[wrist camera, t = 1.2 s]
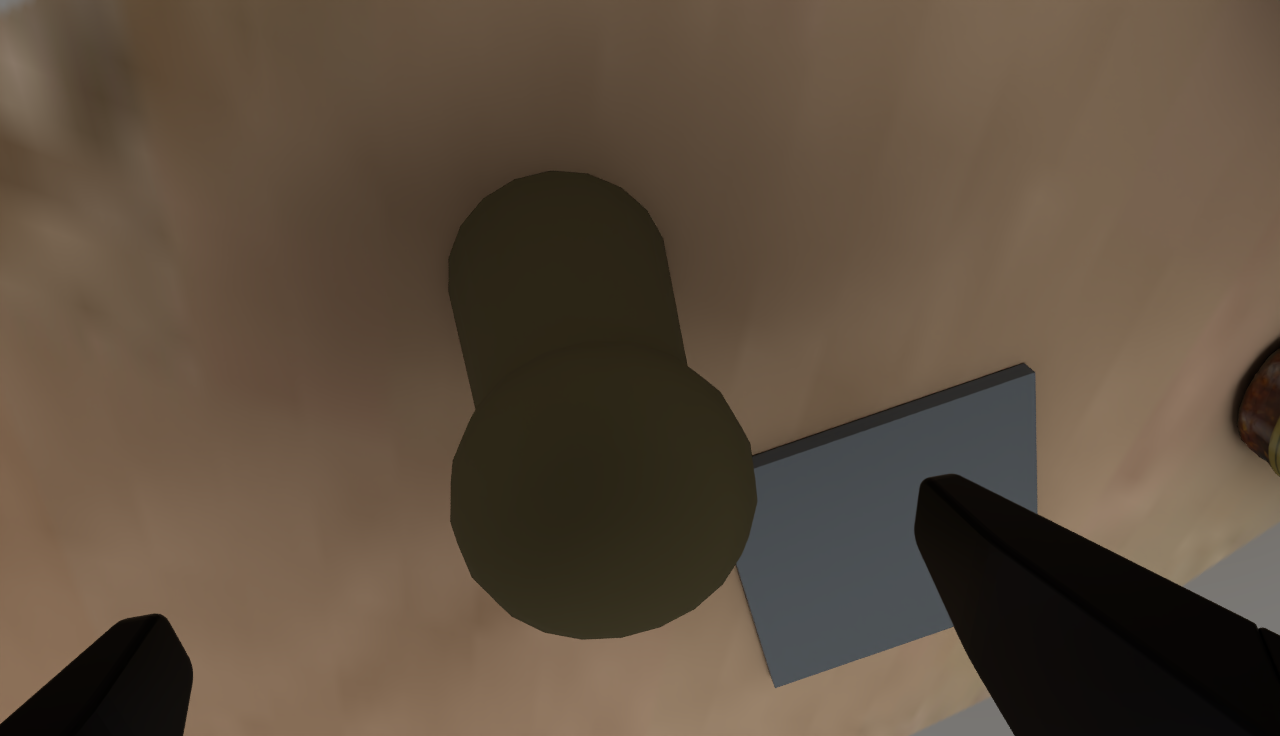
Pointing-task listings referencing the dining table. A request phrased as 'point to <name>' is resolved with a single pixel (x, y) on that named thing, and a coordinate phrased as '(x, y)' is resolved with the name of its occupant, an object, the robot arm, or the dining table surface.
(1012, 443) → the slate coaster
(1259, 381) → the sauce bottle
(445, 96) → the dining table surface
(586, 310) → the dark olive bulbous piece
